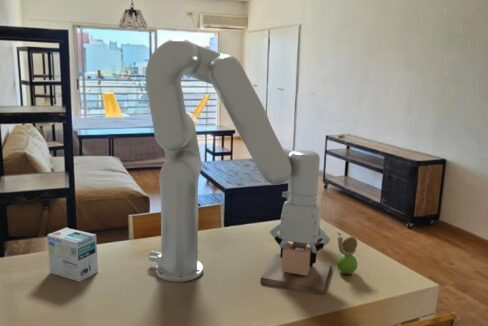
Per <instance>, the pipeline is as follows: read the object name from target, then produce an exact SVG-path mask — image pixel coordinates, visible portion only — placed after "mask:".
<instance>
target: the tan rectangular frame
mask: <svg viewBox="0 0 488 326" xmlns="http://www.w3.org/2000/svg"><path fill="white" fill-rule="evenodd" d="M296 247H301V248H304V251H300V250H295V249H296ZM311 250H312V249H311V247H310V244H303V243H297V242H291V241H288V242H287V244H286V245H285V247H284V248H283V254H282V270H281V271H283V272H288V273H294V274H300V275H305V276H307V275H308V273H309V270H310V268H311V267H310V254H311Z"/></svg>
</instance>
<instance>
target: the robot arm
mask: <svg viewBox="0 0 488 326" xmlns="http://www.w3.org/2000/svg"><path fill="white" fill-rule="evenodd" d="M244 69H245V68H244V67H243V66H242V64H241V62H240V60H239V59H238V58H236V57H235V56H233V55H231V54H225V53H221V52H219V51H216V50H213V49H210V48H207V47H205V46H203V45H198V44H197V43H194V42H191V41H190V40H188V39H185V38H181V37H176V38H171V39H168V40H167V41H165V42H163V43H162V44H161V45H159V46H158V47H157V48H156V49H155V50H154V52H153V53H151V55H150V57H149V59H148V62H147V65H146V69H145V86H146V91H147V92H146V93H147V97H148V98H147V99H148V103H149V110H150V116H151V121H152V128H153V133H154V139H155V140H156V143H157V144H158V145H159V147H161V148H162V149H163V151H164V156H165V161H164V163H162V166H161V169H160V172H159V175H158V176H159V177H158V178H159V180H158V181H159V182H158V183H159V192H160V193H159V194H160V195H159V196H160V216H161V217H160V220H161V221H160V229H161V230H160V231H161V235H160V240H161V241H160V242H161V243H160V244H161V248H160V250H161V251H156V250H151V251H149V255H148V256H149V259H148V260H149V261H150V262H156V263H157V264H156V266H155V274H156V276H157V277H158V278H160V279H162V280H164V281H168V282H175V283H176V282H179V283H180V282H188V281H192V280H195V279H197V278H199V277H200V276H201V275H202V274H203V272H204V266H203V264H202V263H201V262H200V261H199V260H198V256H199V255H198V254H199V253H198V249H199V248H198V247H199V246H198V245H199V244H198V240H199V236H198V235H199V233H198V232H199V180H200V179H199V178H200V176H201V175H200V174H201V172H202V159H201V152H200V147H199V140H198V135H197V130H196V124H195V122H194V119H193V118H192V117H191V115H189V113H187V110H186V105H185V98H184V97H185V96H184V92H183V88H182V78H183V76H187V77H189V78H192V79H195V80H197V81H201V82H204V83H207V84H210V85H212V87H213V89H214V90H215V92H216V94H217V96H218V97H219V100H221V103H222V105H223V107H224V109H225V110H226V112H227V114H228V116H229V118H230V120H231V122H232V123H233V126H234V127H235V129H236V132H237V133H238V134H239V136H240V138H241V140H242V141H243V144H244V145H245V146H246V149H247V151H248V153H249V154H250V156H251V158H252V160H253V162H254V165H255V166H256V168H257V169H258V171H259V173H260V175H261V176H262V178H263V179H264V180H265V181H266V182H267V183H268V184H271V185H274V186H275V185H277V186H278V185H281V184H284V183H286V182H287V181H288V186H287V191H282V193H281V197H282V198H286V199H285V200H286V201H284V202H283V206H282V209H281V210H282V211H281V215H280V220H281V222H280V221H279V222H280V224H279V223H278V224H277V225H276V226H274V227H273V228H271V230H270V231H269V234H270V235H271V236H272V237H273V239H274V241H275V242H276V243H277V244H278V245H279V246H278V247H279V248H280V253H279V254H280V258H282V254H283V248H284V247H285V245H286V244H287V243H286V242H287V241H291V242H297V243H303V244H310V247H311V249H312V250H311V254H310V267H312V266H313V263H316V260H317V256H318V255H317V253H318V251H320V250H321V249H323V248H324V247H325V246H326V245H328V244H329V243H330V241H331V238H330V237H329V236H328V234H327V233H326V231H325V230H324V231H325V232H324V231H323V230H322V229H321V228H320V226H321V212H320V206H319V205H320V204H319V203H318V200H317V197H318V189H319V175H320V174H319V173H320V163H321V162H320V161H321V159H320V155H319V153H317V152H316V151H313V150H301V149H299V150H292V149H284V148H283V146H282V145H281V142H280V141H279V138H278V136H277V135H276V132H275V130H274V129H273V126H272V125H271V122H270V120H269V116H268V114H267V111H266V109H265V107H264V105H263V102H261V100H260V97H259V95H258V94H257V91H256V90H255V89H254V87H253V85H252V83H251V81H250V78H249V77H248V75H247V73H246V72H245V70H244ZM319 236H320V237H321V239H322V240H321V241H319V239H318V238H319ZM318 241H319V242H318Z"/></svg>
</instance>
